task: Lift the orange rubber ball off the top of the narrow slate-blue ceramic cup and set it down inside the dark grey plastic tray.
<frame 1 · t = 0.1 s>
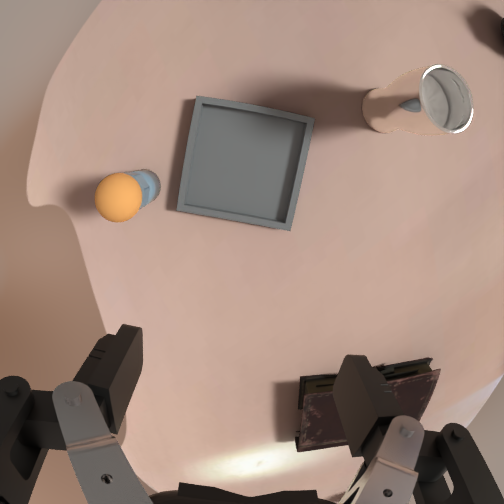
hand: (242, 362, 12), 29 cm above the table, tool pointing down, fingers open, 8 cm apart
ball: (118, 197, 29), point 9 cm above the table, touching cup
tray: (244, 162, 37), on the table
beer glass: (382, 110, 35), on the table
cup: (144, 186, 38), on the table
diary: (362, 399, 51), on the table
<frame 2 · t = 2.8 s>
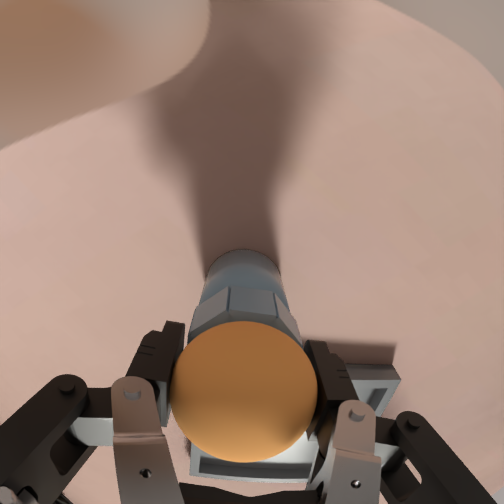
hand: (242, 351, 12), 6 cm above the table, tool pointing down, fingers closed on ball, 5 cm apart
ball: (243, 392, 10), point 9 cm above the table, touching cup, gripper
tray: (282, 425, 22), on the table
cup: (243, 285, 18), on the table
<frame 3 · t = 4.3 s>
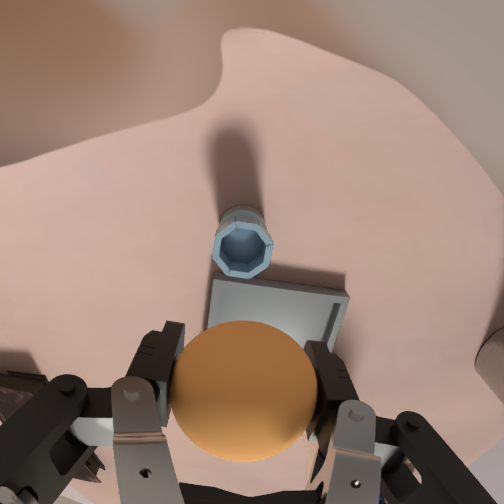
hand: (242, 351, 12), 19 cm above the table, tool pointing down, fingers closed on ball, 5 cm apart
ball: (243, 391, 10), point 22 cm above the table, touching gripper
tray: (269, 337, 35), on the table
beer glass: (319, 427, 41), on the table
bomb: (388, 484, 50), on the table
cup: (242, 227, 30), on the table
diary: (44, 420, 42), on the table
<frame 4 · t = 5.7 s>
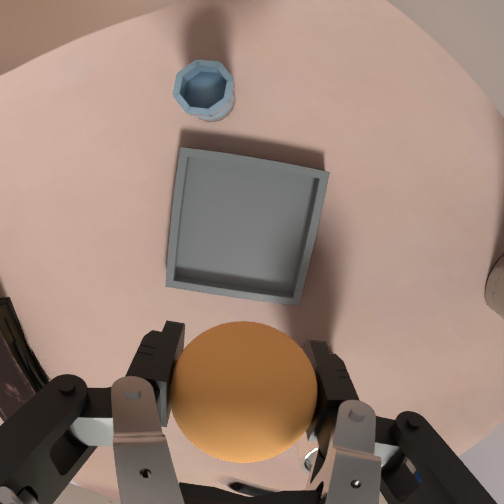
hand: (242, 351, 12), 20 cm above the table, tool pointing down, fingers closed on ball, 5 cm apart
ball: (243, 393, 10), point 23 cm above the table, touching gripper
tray: (243, 226, 32), on the table
beer glass: (309, 363, 38), on the table
cup: (212, 100, 27), on the table
diary: (11, 363, 39), on the table
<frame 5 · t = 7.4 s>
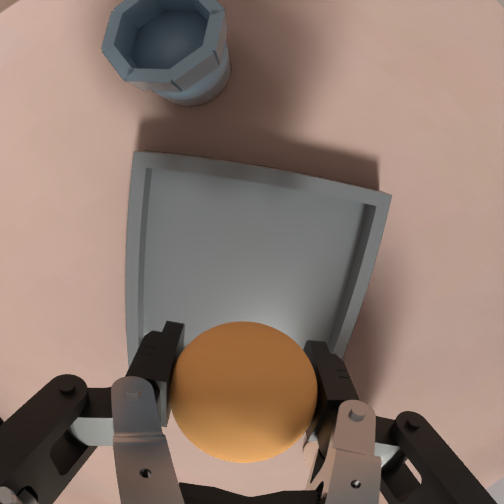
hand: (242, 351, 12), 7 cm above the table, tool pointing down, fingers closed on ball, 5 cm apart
ball: (243, 392, 10), point 10 cm above the table, touching gripper
tray: (245, 281, 19), on the table
beer glass: (333, 444, 25), on the table
cup: (191, 70, 15), on the table
when the fingers open (3 cm above the table, at t = 8.7 s): ball drops 2 cm, resting on tray.
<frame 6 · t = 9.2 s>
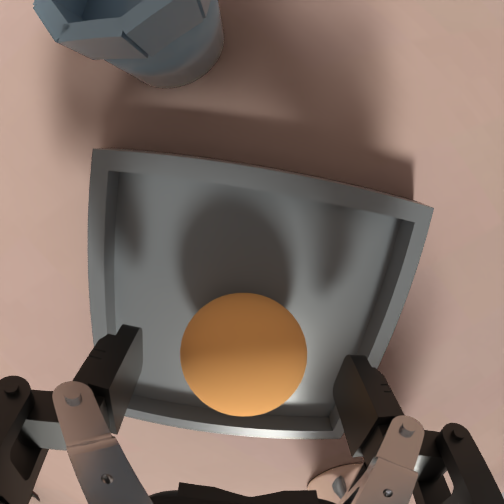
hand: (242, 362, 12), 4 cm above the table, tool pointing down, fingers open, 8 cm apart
ball: (243, 355, 12), point 3 cm above the table, touching tray
tray: (242, 315, 15), on the table
beer glass: (341, 478, 21), on the table
cup: (172, 42, 11), on the table
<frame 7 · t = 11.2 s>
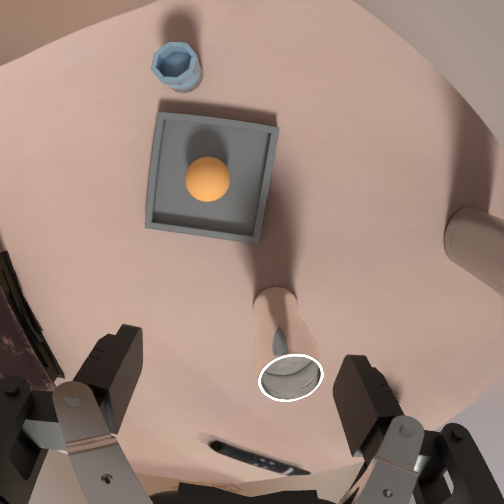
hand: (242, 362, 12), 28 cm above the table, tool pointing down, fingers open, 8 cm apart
ball: (207, 179, 34), point 3 cm above the table, touching tray
tray: (209, 176, 37), on the table
beer glass: (275, 305, 43), on the table
cup: (184, 75, 32), on the table
diary: (8, 321, 43), on the table
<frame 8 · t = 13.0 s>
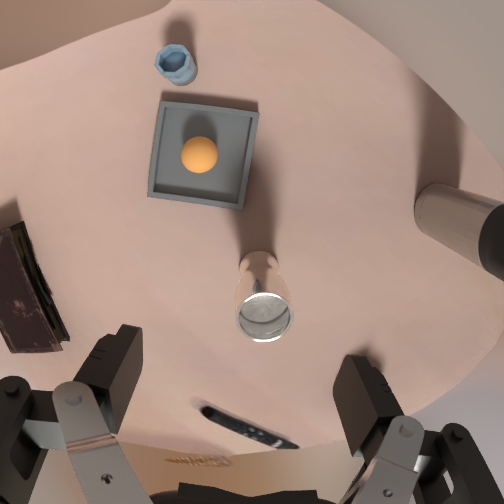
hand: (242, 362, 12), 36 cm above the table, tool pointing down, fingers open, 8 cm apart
ball: (199, 154, 40), point 3 cm above the table, touching tray
tray: (202, 154, 43), on the table
beer glass: (258, 268, 49), on the table
cup: (182, 72, 39), on the table
diary: (20, 288, 50), on the table
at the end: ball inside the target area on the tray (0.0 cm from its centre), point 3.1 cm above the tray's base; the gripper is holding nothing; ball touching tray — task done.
